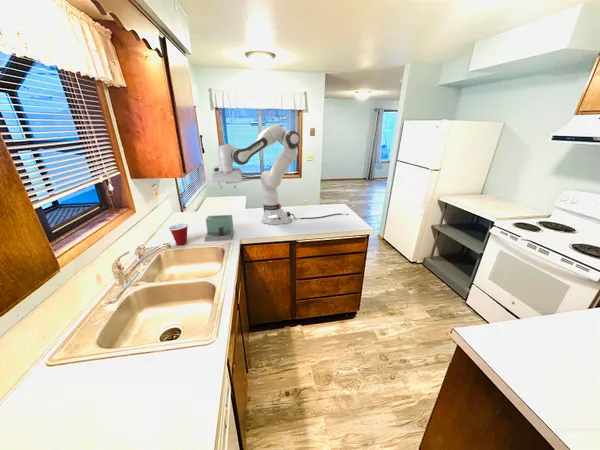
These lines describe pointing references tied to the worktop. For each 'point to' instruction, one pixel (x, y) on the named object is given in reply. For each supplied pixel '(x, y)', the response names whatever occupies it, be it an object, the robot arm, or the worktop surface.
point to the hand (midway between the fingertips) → (228, 188)
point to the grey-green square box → (215, 223)
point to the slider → (221, 231)
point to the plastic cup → (179, 233)
